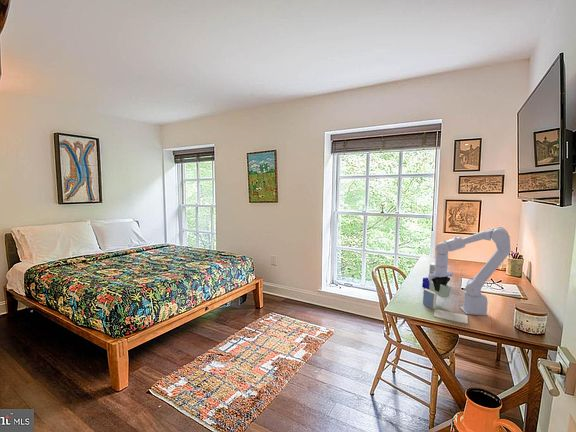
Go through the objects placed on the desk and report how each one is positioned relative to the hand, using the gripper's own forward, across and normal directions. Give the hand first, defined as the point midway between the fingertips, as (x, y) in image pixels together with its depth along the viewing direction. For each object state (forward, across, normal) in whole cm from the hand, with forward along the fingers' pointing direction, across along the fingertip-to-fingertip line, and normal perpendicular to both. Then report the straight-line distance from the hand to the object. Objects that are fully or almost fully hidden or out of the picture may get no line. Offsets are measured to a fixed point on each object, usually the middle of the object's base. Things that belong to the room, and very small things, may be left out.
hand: (439, 290), depth 154 cm
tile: (+8, +7, 0) cm, 10 cm away
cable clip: (+8, -14, -18) cm, 24 cm away
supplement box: (+8, -26, -26) cm, 38 cm away
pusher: (+2, 0, 0) cm, 2 cm away
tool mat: (+8, +7, +13) cm, 17 cm away
